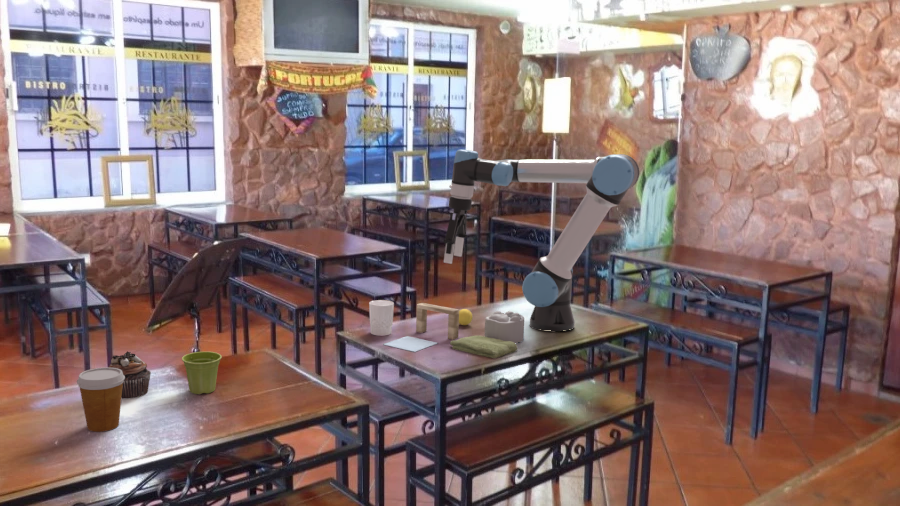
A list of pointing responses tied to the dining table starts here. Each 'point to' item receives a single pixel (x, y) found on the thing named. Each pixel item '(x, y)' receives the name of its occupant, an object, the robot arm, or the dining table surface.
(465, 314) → the ball
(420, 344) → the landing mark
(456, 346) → the washcloth
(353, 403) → the dining table surface
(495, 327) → the grey filled box
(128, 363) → the cupcake
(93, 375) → the disposable coffee cup
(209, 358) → the plant pot
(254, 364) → the dining table surface
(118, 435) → the dining table surface
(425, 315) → the bridge
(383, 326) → the white cup
